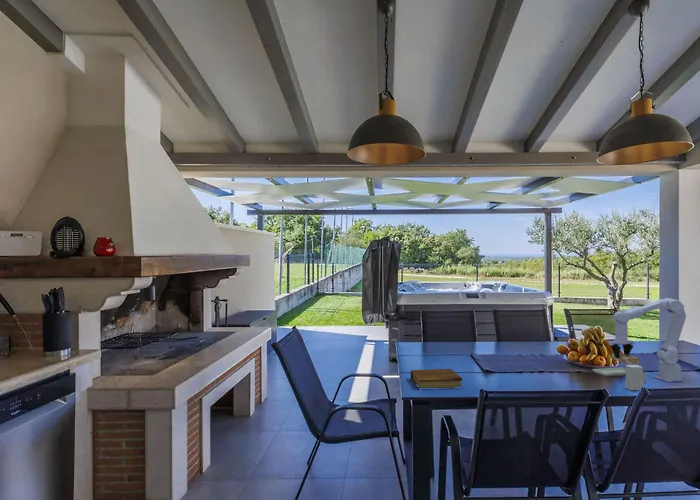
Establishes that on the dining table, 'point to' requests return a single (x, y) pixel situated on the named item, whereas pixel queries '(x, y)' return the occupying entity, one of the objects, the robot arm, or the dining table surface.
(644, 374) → the rubber stamp
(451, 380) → the diary
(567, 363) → the dining table surface
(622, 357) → the tan rectangular frame
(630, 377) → the skincare box
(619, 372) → the tray
